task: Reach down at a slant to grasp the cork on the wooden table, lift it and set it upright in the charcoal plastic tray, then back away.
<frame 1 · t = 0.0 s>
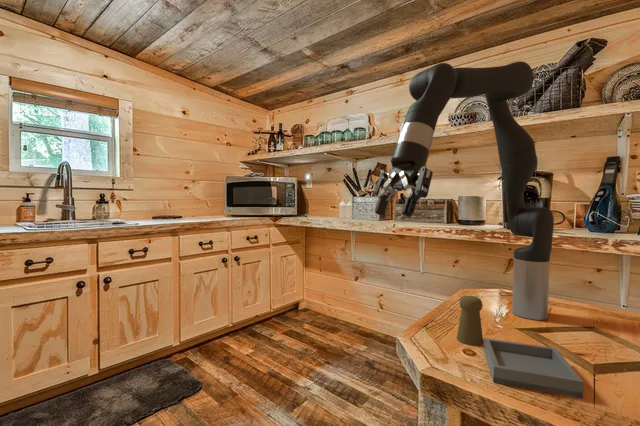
hand: (391, 215, 69), 31 cm above the table, tool tilted 20°, fingers open, 8 cm apart
cork: (469, 341, 79), on the table
tray: (526, 371, 65), on the table
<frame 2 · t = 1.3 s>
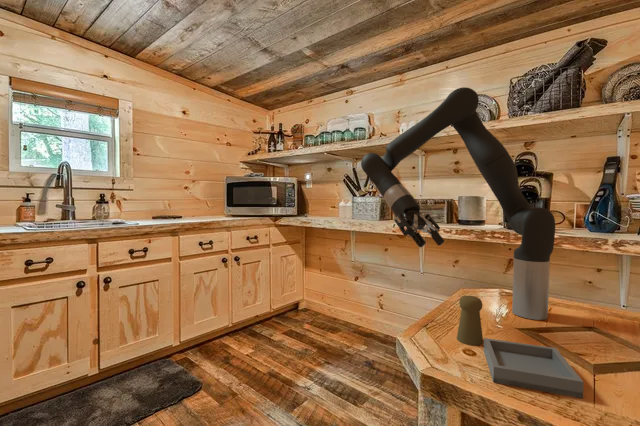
hand: (432, 244, 88), 23 cm above the table, tool tilted 45°, fingers open, 8 cm apart
nothing on the table moved.
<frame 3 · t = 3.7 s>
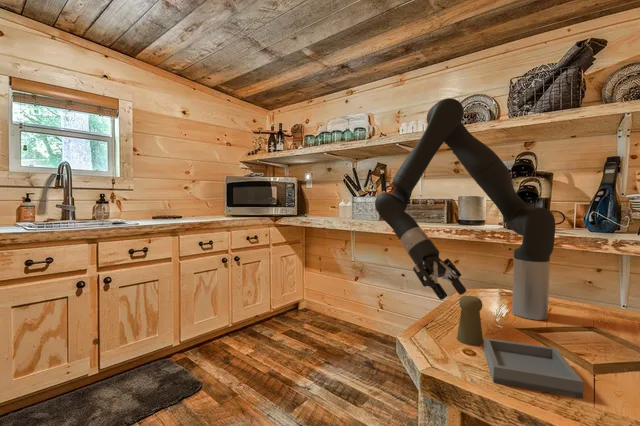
hand: (454, 295, 83), 10 cm above the table, tool tilted 45°, fingers open, 8 cm apart
nothing on the table moved.
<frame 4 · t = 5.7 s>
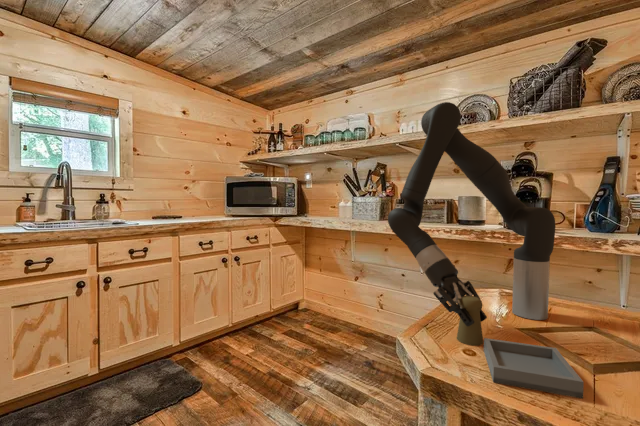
hand: (477, 322, 78), 5 cm above the table, tool tilted 45°, fingers closed on cork, 5 cm apart
cork: (469, 341, 79), on the table, touching gripper
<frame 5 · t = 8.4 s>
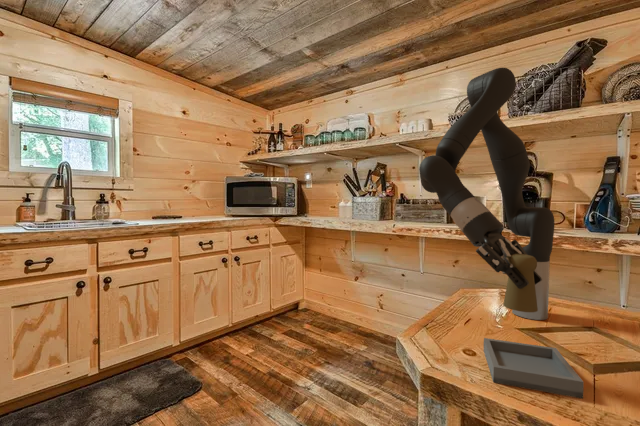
hand: (531, 284, 64), 18 cm above the table, tool tilted 45°, fingers closed on cork, 5 cm apart
cork: (520, 308, 66), point 13 cm above the table, touching gripper
when the fingers open (7 cm above the table, at t = 11.0 s): cork drops 1 cm, resting on tray.
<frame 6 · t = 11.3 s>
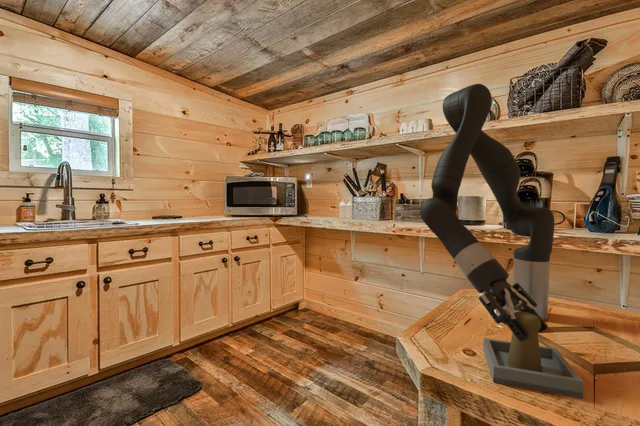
hand: (535, 334, 63), 8 cm above the table, tool tilted 45°, fingers open, 8 cm apart
cork: (524, 367, 65), point 1 cm above the table, touching tray
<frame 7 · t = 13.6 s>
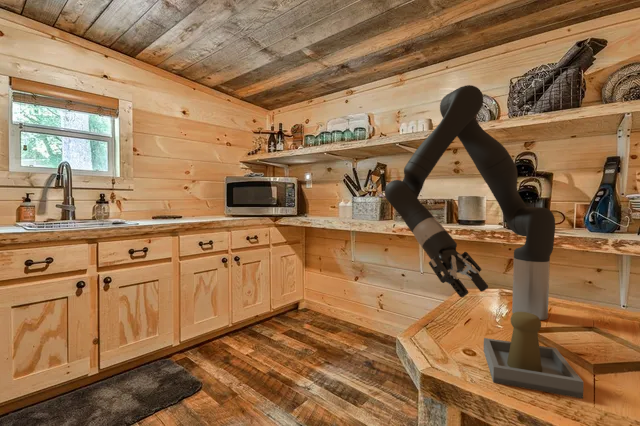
hand: (475, 292, 74), 13 cm above the table, tool tilted 45°, fingers open, 8 cm apart
nothing on the table moved.
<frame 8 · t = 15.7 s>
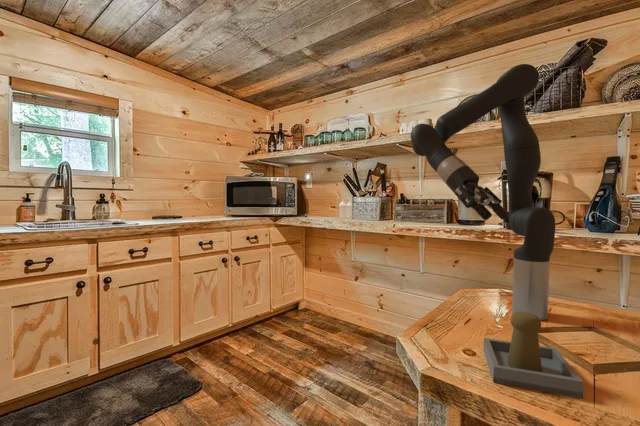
hand: (497, 217, 80), 31 cm above the table, tool tilted 45°, fingers open, 8 cm apart
nothing on the table moved.
at the end: cork inside the target area on the tray (0.6 cm from its centre), point 0.8 cm above the tray's base; cork tilted 0°; the gripper is holding nothing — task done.
